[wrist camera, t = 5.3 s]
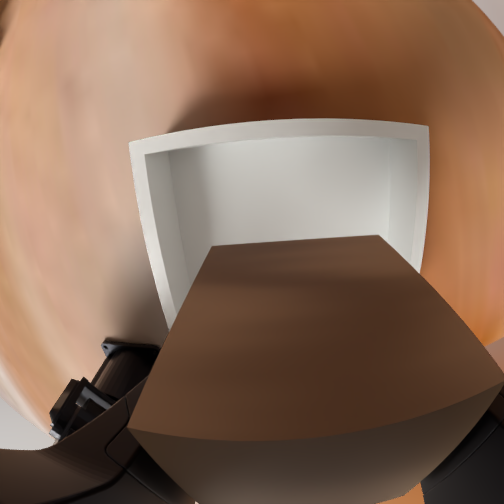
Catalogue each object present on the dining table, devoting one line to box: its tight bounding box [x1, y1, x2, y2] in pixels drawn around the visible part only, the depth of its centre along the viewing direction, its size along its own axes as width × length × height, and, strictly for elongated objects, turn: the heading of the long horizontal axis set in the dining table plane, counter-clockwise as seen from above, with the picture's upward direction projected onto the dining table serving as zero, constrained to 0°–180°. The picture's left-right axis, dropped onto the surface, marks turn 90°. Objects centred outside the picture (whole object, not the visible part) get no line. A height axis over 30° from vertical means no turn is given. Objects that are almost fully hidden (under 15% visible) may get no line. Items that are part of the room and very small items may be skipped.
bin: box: [129, 118, 430, 331], centre depth 16 cm, size 15×13×4 cm
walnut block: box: [127, 235, 504, 504], centre depth 6 cm, size 5×5×6 cm
